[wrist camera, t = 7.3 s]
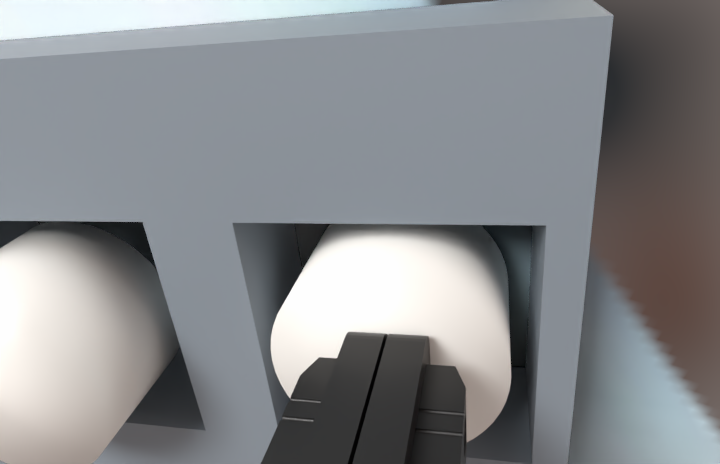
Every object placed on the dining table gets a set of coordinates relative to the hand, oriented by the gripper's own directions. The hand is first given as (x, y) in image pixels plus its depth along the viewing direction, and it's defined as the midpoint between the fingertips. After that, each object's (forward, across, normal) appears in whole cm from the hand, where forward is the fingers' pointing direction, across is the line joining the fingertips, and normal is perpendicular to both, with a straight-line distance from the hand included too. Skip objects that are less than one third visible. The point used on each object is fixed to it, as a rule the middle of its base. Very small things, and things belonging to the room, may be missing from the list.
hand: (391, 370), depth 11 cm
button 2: (+3, 0, 0) cm, 3 cm away
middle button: (+1, +8, 0) cm, 8 cm away
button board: (+4, +8, +2) cm, 9 cm away
